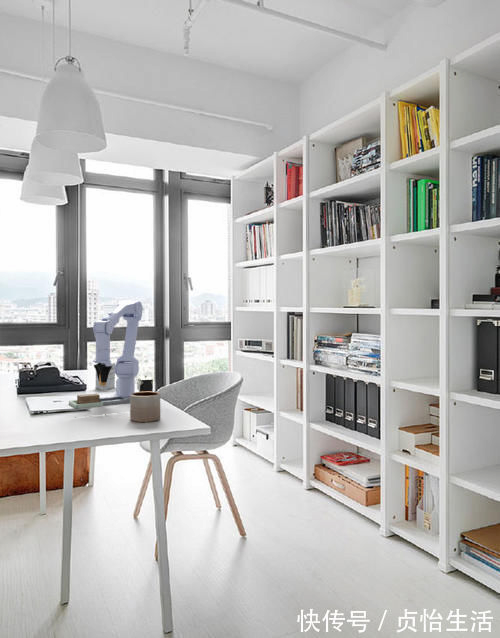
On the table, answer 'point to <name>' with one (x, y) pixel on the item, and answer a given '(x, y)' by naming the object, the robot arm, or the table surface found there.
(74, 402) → the tray
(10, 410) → the table surface
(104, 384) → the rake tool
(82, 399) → the chip
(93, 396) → the chip
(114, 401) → the slot bed
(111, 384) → the supplement box
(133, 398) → the planter
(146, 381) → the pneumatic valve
